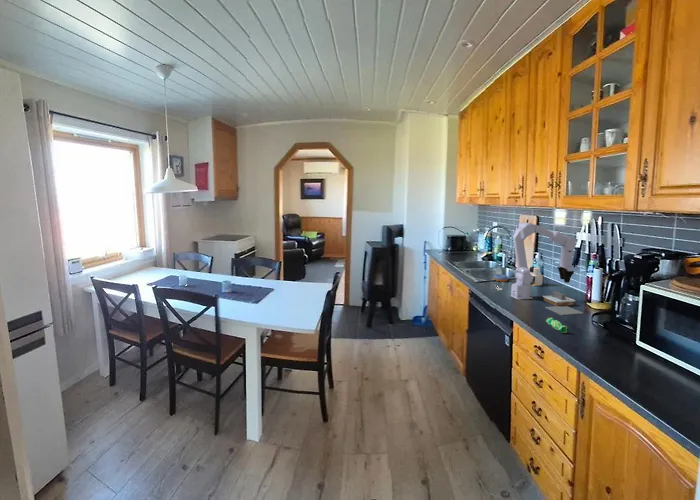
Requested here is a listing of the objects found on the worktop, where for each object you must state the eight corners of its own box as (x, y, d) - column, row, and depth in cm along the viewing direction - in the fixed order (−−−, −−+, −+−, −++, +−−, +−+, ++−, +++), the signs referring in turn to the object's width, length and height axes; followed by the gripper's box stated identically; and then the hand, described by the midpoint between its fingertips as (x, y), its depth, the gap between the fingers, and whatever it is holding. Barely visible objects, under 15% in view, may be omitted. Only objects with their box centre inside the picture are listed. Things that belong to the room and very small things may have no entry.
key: (496, 290, 218) (503, 291, 217) (496, 289, 218) (503, 289, 217) (493, 286, 230) (500, 286, 229) (493, 284, 230) (500, 285, 229)
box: (556, 306, 184) (556, 302, 184) (543, 301, 194) (544, 297, 194) (573, 305, 186) (573, 301, 185) (559, 300, 195) (560, 296, 195)
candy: (570, 331, 149) (565, 324, 149) (563, 336, 150) (558, 328, 149) (554, 321, 161) (550, 315, 161) (548, 325, 161) (544, 319, 161)
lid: (556, 304, 184) (557, 296, 183) (542, 298, 194) (543, 291, 194) (575, 302, 185) (575, 295, 184) (560, 297, 196) (560, 289, 195)
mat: (561, 315, 171) (561, 314, 171) (545, 307, 183) (545, 307, 183) (583, 313, 173) (583, 313, 173) (565, 306, 185) (565, 305, 184)
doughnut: (499, 277, 249) (499, 271, 248) (511, 281, 241) (511, 275, 240) (489, 281, 245) (489, 275, 244) (501, 284, 236) (501, 278, 235)
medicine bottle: (525, 284, 232) (526, 266, 230) (533, 282, 234) (534, 265, 232) (534, 286, 225) (535, 268, 223) (542, 285, 228) (543, 267, 226)
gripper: (578, 260, 189) (576, 284, 192) (570, 255, 203) (568, 278, 205) (564, 259, 191) (562, 283, 193) (556, 255, 205) (555, 277, 207)
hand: (564, 280), depth 200 cm, fingers open, 7 cm apart
